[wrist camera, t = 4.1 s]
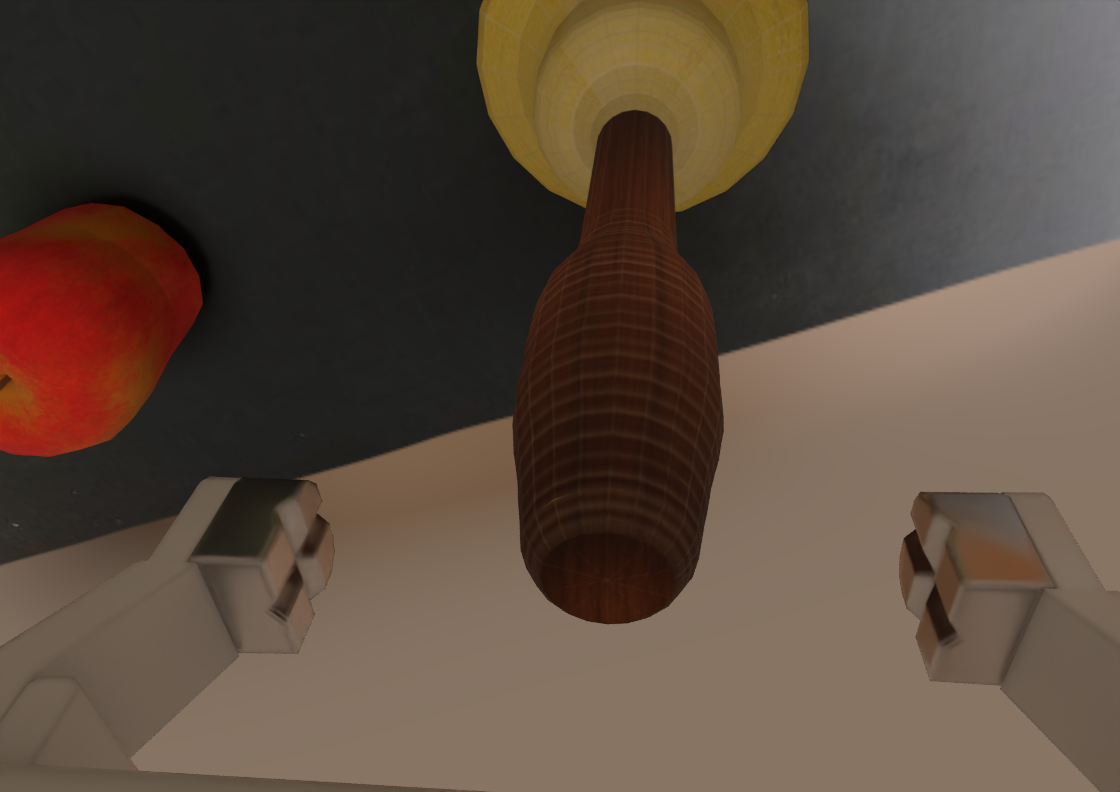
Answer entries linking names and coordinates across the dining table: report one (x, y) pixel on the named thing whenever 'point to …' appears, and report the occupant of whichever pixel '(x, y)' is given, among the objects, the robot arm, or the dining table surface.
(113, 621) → the robot arm
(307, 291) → the dining table surface
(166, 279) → the apple
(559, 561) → the handbell
